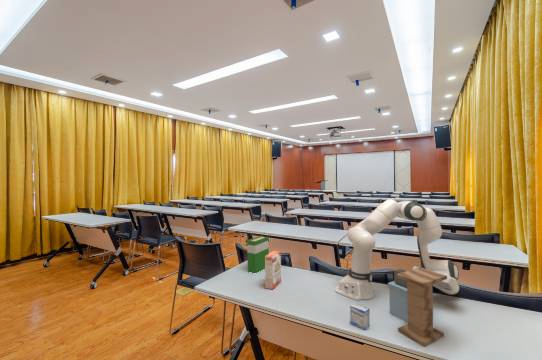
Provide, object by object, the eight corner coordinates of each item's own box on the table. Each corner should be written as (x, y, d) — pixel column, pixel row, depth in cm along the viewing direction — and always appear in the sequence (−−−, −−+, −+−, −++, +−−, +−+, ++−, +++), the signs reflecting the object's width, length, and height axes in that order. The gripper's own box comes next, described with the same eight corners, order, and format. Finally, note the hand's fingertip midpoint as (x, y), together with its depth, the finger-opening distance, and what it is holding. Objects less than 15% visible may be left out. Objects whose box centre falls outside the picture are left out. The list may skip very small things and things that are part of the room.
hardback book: (261, 265, 206) (260, 235, 206) (269, 266, 202) (268, 236, 202) (247, 272, 192) (247, 240, 191) (255, 274, 188) (254, 241, 187)
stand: (421, 320, 122) (420, 267, 122) (448, 334, 112) (446, 275, 112) (397, 331, 115) (396, 274, 115) (424, 346, 104) (422, 283, 104)
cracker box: (273, 290, 160) (272, 257, 160) (264, 288, 163) (264, 256, 162) (281, 281, 173) (281, 251, 173) (273, 280, 175) (273, 250, 175)
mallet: (421, 275, 140) (421, 264, 140) (436, 280, 133) (436, 268, 133) (394, 282, 129) (394, 270, 129) (409, 288, 122) (409, 275, 122)
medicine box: (349, 323, 122) (349, 305, 122) (354, 319, 125) (353, 302, 125) (365, 330, 116) (365, 311, 116) (370, 326, 119) (369, 308, 119)
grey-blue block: (409, 304, 138) (409, 276, 138) (430, 314, 128) (429, 283, 128) (388, 312, 130) (387, 282, 130) (408, 323, 120) (407, 291, 120)
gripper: (421, 268, 150) (408, 260, 145) (460, 280, 132) (446, 271, 127) (418, 278, 149) (404, 270, 144) (456, 292, 131) (442, 283, 125)
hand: (424, 271), depth 135 cm, fingers closed on mallet, 3 cm apart
